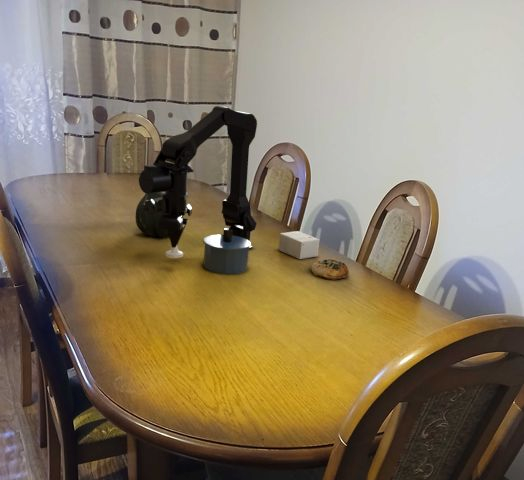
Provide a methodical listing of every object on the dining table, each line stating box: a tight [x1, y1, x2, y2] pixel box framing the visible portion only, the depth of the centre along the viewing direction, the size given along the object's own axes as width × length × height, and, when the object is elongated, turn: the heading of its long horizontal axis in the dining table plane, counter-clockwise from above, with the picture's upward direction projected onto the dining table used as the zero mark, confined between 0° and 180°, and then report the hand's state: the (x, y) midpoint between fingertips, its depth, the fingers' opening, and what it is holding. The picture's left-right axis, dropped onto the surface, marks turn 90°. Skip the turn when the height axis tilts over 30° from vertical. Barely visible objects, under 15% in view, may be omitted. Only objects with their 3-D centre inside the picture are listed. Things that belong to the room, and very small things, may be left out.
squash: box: [135, 192, 169, 238], centre depth 181 cm, size 14×15×15 cm
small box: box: [277, 230, 321, 260], centre depth 178 cm, size 8×6×10 cm
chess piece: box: [165, 245, 184, 259], centre depth 157 cm, size 5×5×10 cm
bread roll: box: [310, 258, 349, 281], centre depth 164 cm, size 11×11×5 cm
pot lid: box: [203, 227, 252, 250], centre depth 157 cm, size 13×13×5 cm
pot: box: [203, 243, 250, 275], centre depth 160 cm, size 12×12×7 cm
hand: (174, 246), depth 158 cm, fingers closed on chess piece
